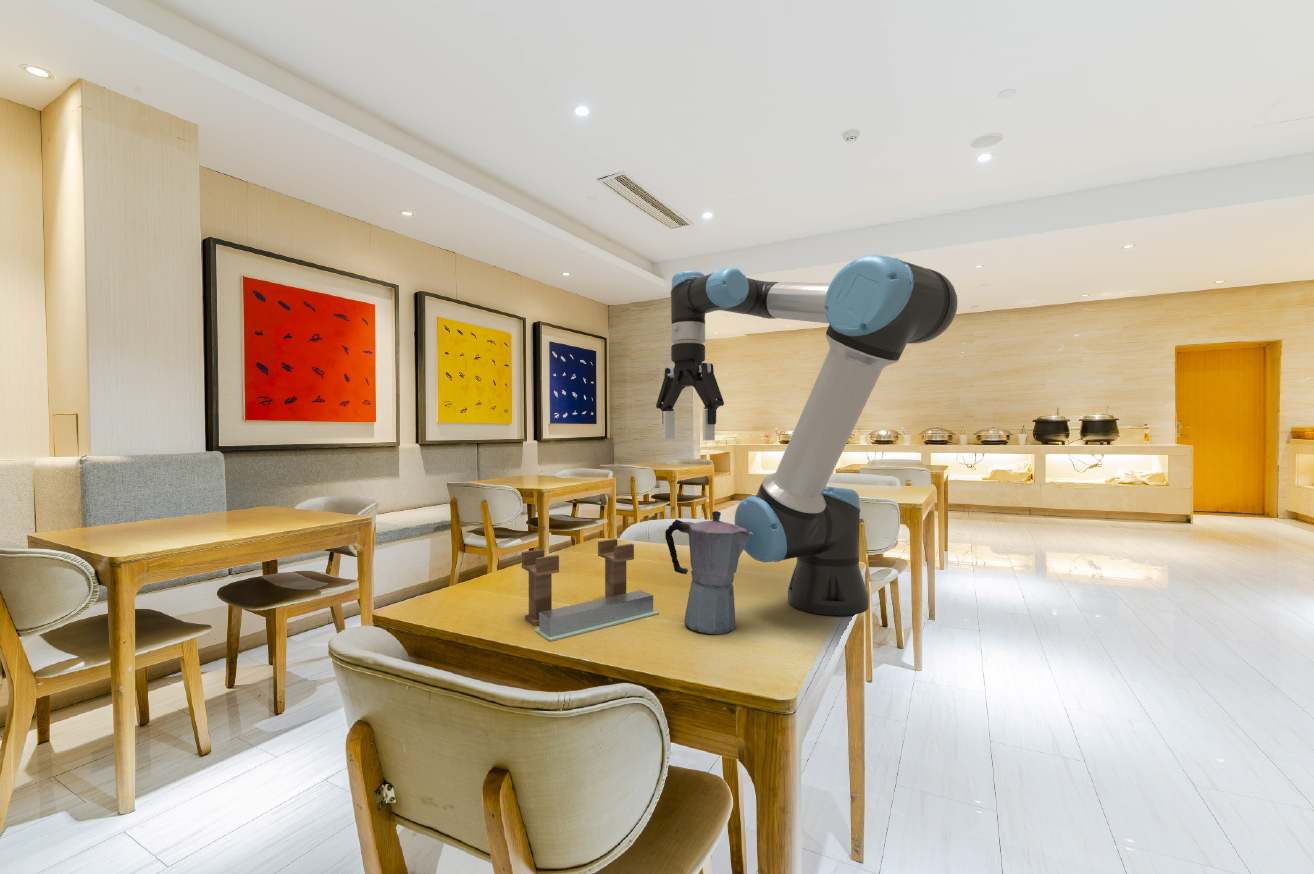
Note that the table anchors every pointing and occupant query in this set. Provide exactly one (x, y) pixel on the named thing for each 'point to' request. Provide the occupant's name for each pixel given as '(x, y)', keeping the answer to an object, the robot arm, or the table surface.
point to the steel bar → (594, 613)
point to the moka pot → (710, 571)
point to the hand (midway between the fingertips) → (687, 440)
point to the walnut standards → (547, 565)
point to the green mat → (595, 627)
